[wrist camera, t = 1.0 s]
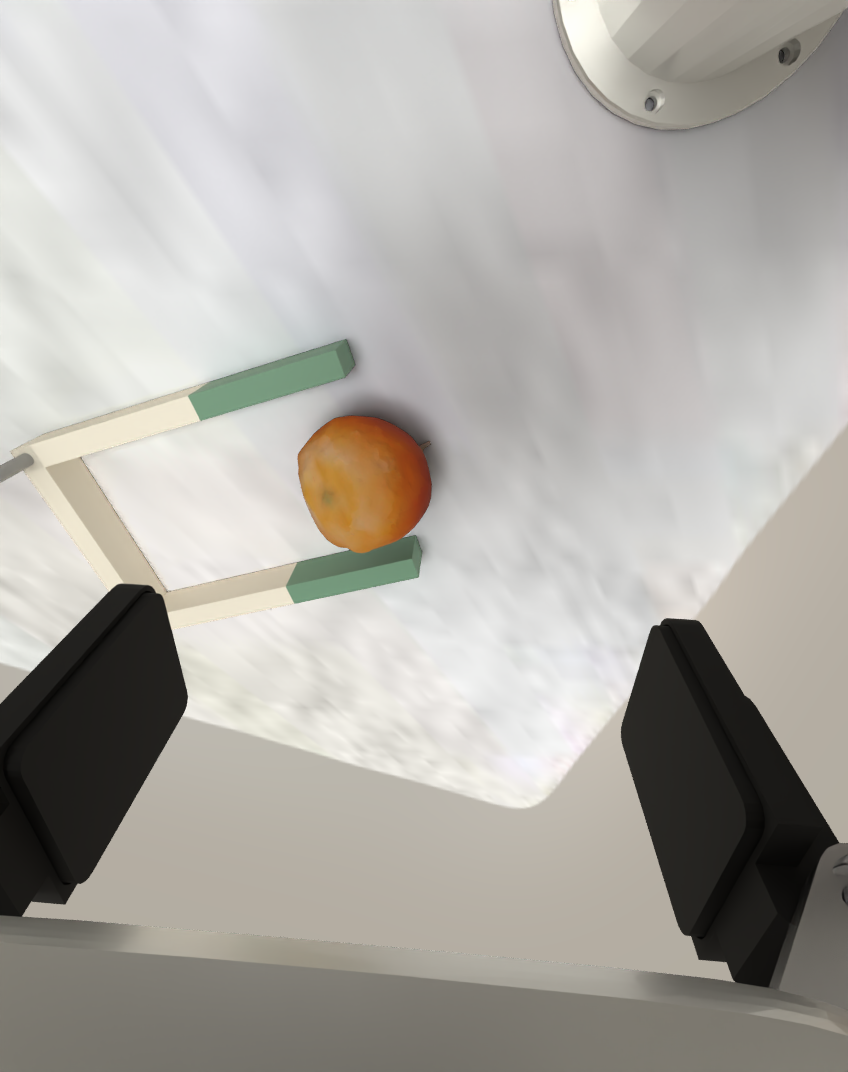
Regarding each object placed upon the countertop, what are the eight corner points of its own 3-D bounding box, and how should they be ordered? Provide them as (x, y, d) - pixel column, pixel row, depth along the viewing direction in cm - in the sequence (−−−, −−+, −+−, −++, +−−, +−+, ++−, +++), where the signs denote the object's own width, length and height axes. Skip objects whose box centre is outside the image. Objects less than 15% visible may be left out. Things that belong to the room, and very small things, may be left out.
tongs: (346, 338, 31) (261, 423, 18) (422, 553, 38) (398, 723, 25) (-9, 450, 37) (-269, 577, 24) (114, 621, 44) (-34, 790, 31)
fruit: (452, 538, 36) (375, 590, 30) (361, 496, 39) (276, 534, 34) (475, 421, 32) (391, 454, 26) (371, 385, 35) (276, 407, 29)
